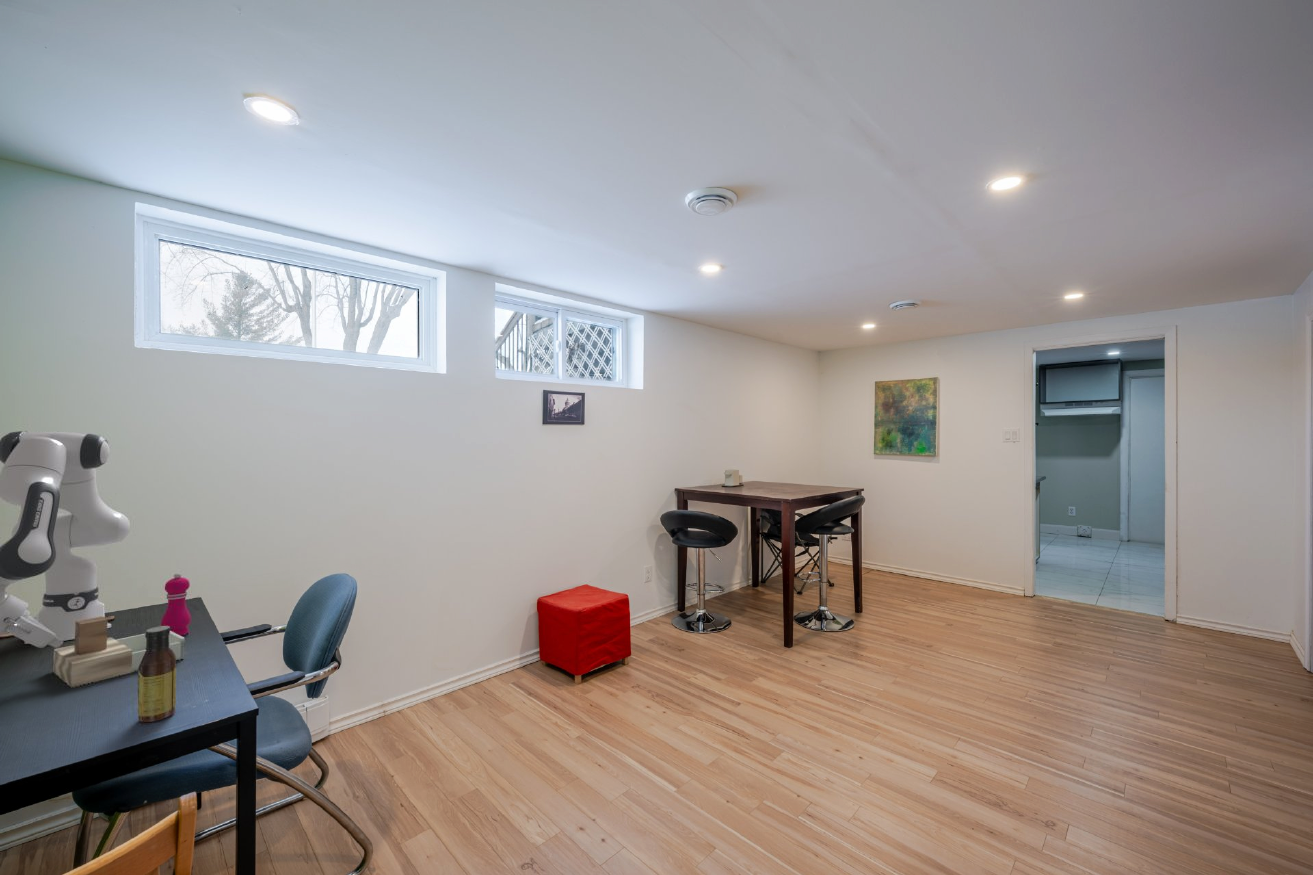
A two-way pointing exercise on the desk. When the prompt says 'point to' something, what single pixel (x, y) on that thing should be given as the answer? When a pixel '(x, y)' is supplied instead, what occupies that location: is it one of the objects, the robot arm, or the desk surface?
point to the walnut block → (90, 635)
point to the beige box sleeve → (92, 663)
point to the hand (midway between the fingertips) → (59, 644)
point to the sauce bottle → (157, 677)
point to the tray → (139, 647)
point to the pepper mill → (177, 605)
